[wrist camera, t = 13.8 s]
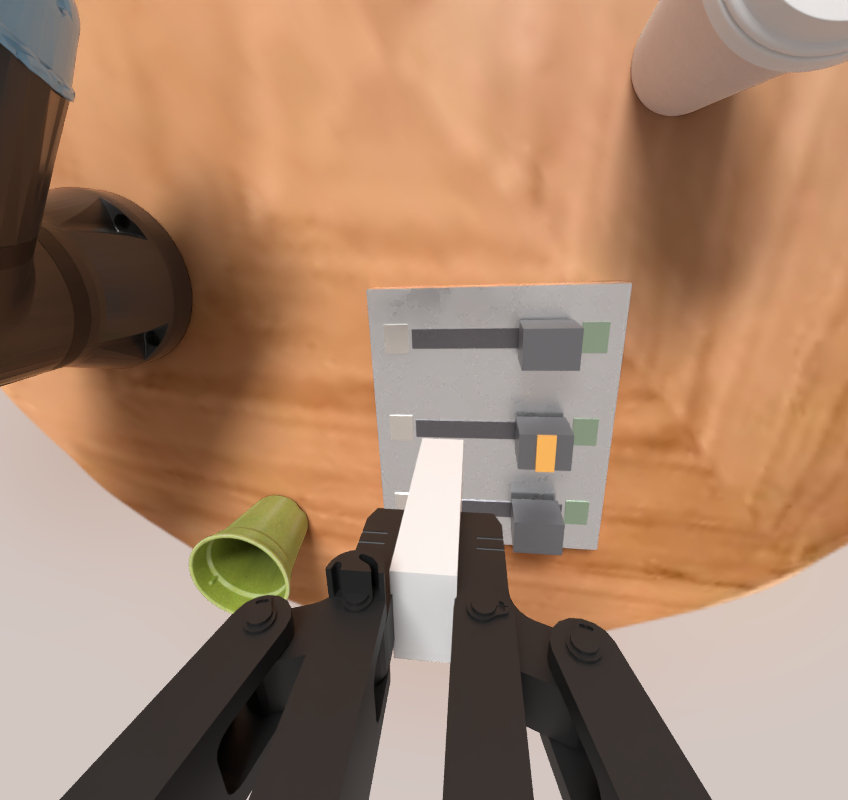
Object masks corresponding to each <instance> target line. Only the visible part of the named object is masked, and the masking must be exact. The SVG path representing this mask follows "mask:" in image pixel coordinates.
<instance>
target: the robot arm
mask: <svg viewBox="0 0 848 800" xmlns="http://www.w3.org/2000/svg"><path fill="white" fill-rule="evenodd" d="M79 35H80V18H79V13H78V10H77V7H76V4H75V1H74V0H0V387H1V386H4V385H7V384H10V383H13V382H16V381H20V380H23V379H26V378H29V377H32V376H36V375H39V374H42V373H45V372H48V371H51V370H55V369H58V368H62V367H78V368H114V369H120V368H130V367H135V366H139V365H142V364H145V363H148V362H150V361H153V360H156V359H158V358H161V357H163V356H165V355H166V354H168V353H169V352H170V351H171V350H173V349H174V348H175V347H176V346H177V344H178V343H179V342H180V341H181V339H182V337H183V336H184V334H185V332H186V329H187V327H188V324H189V320H190V316H191V308H192V294H191V286H190V281H189V277H188V273H187V270H186V267H185V264H184V262H183V259H182V257H181V255H180V253H179V251H178V249H177V247H176V245H175V244H174V242H173V241H172V239H171V238H170V236H169V235H168V233H167V232H166V231H165V230H164V228H163V227H162V226H161V225H160V224H159V223H158V222H157V221H156V220H155V219H154V218H153V217H152V216H151V215H150V214H149V213H148V212H146V211H145V210H144V209H143V208H141V207H140V206H138V205H137V204H135V203H134V202H132V201H130V200H128V199H126V198H124V197H122V196H120V195H117V194H114V193H111V192H107V191H102V190H95V189H88V188H80V187H62V188H55V189H50V190H49V186H50V181H51V177H52V172H53V167H54V163H55V158H56V154H57V150H58V146H59V142H60V138H61V134H62V130H63V126H64V122H65V118H66V113H67V109H68V105H69V101H71V102H73V101H74V98H75V92H74V90H73V89H72V83H73V75H74V68H75V60H76V53H77V47H78V41H79ZM463 441H464V440H456V439H431V438H422V442H421V446H420V450H419V454H418V458H417V462H416V466H415V470H414V474H413V478H412V482H411V486H410V490H409V494H408V498H407V502H406V506H405V510H401V509H384V508H378V509H377V510H376V511H375V512H373V513H372V514H371V515H370V516H369V517H368V518H367V521H366V523H365V526H364V529H363V533H362V534H361V537H360V540H359V543H358V545H357V548H356V550H353V551H348V552H345V553H343V554H340V555H338V556H337V557H336V558H334V559H333V560H331V562H330V563H329V564H328V566H327V567H326V577H327V585H328V593H329V598H327V599H325V600H323V601H321V602H318V603H314V604H310V605H305V606H300V607H295V608H291V607H290V605H289V603H288V601H287V600H286V599H284V598H282V597H281V596H276V595H265V596H259V597H256V598H254V599H252V600H250V601H248V602H246V603H244V604H243V605H242V606H241V607H239V608H238V609H237V610H236V611H235V612H234V613H233V614H232V615H231V616H230V617H229V618H228V619H227V621H226V622H225V623H224V624H223V625H222V626H221V627H220V628H219V629H218V630H217V631H216V632H215V634H213V636H212V637H211V638H210V639H209V640H208V641H207V642H206V643H205V644H204V645H203V646H202V647H201V648H200V649H199V651H198V652H197V653H196V654H195V655H194V656H193V657H192V658H191V659H190V660H189V661H188V662H187V663H186V665H185V666H184V667H183V668H182V669H181V670H180V671H179V672H178V673H177V674H176V675H175V676H174V677H173V678H172V680H171V681H170V682H169V683H168V684H167V685H166V686H165V687H164V688H163V689H162V690H161V691H160V692H159V694H158V695H157V696H156V697H155V698H154V699H153V700H152V701H151V702H150V703H149V704H148V705H147V707H145V709H144V710H143V711H142V712H141V713H140V714H139V715H138V716H137V717H136V718H135V719H134V720H133V721H132V723H131V724H130V725H129V726H128V727H127V728H126V729H125V730H124V731H123V732H122V733H121V734H120V735H119V737H118V738H117V739H116V740H115V741H114V742H113V743H112V744H111V745H110V746H109V747H108V748H107V749H106V751H104V753H103V754H102V755H101V756H100V757H99V758H98V759H97V760H96V761H95V762H94V763H93V764H92V765H91V767H90V768H89V769H88V770H87V771H86V772H85V773H84V774H83V775H82V776H81V777H80V778H79V779H78V781H77V782H76V783H75V784H74V785H73V786H72V787H71V788H70V789H69V790H68V791H67V792H66V793H65V795H64V796H63V797H62V798H61V799H60V800H246V799H247V797H248V796H249V794H250V793H251V791H252V793H251V795H250V798H249V800H369V795H370V789H371V784H372V778H373V773H374V767H375V762H376V756H377V750H378V746H379V740H380V735H381V729H382V724H383V718H384V713H385V708H386V702H387V696H388V691H389V686H390V661H391V656H392V650H393V651H394V658H400V659H410V660H420V661H431V662H441V663H450V680H449V698H448V715H447V733H446V751H445V770H444V786H443V800H534V797H533V788H532V779H531V769H530V759H529V749H528V740H527V732H526V726H527V727H529V728H531V729H533V730H535V731H537V732H539V733H540V736H541V739H542V742H543V745H544V748H545V750H546V753H547V756H548V759H549V762H550V765H551V768H552V770H553V773H554V776H555V779H556V782H557V785H558V788H559V791H560V793H561V796H562V799H563V800H712V799H711V797H710V796H709V794H708V793H707V791H706V789H705V788H704V786H703V784H702V783H701V781H700V780H699V778H698V776H697V775H696V773H695V771H694V770H693V768H692V767H691V765H690V763H689V762H688V760H687V758H686V757H685V755H684V754H683V752H682V750H681V749H680V747H679V745H678V744H677V742H676V741H675V739H674V737H673V736H672V734H671V732H670V731H669V729H668V727H667V726H666V724H665V723H664V721H663V720H662V718H661V716H660V714H659V713H658V711H657V710H656V708H655V706H654V705H653V703H652V702H651V700H650V698H649V697H648V695H647V693H646V692H645V690H644V688H643V687H642V685H641V683H640V682H639V680H638V679H637V677H636V676H635V674H634V672H633V671H632V669H631V667H630V666H629V664H628V662H627V661H626V659H625V657H624V656H623V654H622V653H621V651H620V649H619V648H618V646H617V644H616V643H615V641H614V640H613V639H612V638H611V637H610V636H609V634H608V633H607V632H606V631H605V630H603V629H602V628H600V627H599V626H597V625H596V624H594V623H592V622H589V621H586V620H583V619H575V618H568V619H565V620H562V621H559V622H558V623H557V624H556V625H555V626H554V627H550V626H547V625H544V624H542V623H539V622H537V621H534V620H532V619H530V618H528V617H527V616H525V615H524V614H523V613H521V612H520V611H519V610H518V609H517V608H516V607H515V605H514V604H513V602H512V600H511V598H510V595H509V590H508V580H507V570H506V560H505V552H504V541H503V530H502V524H501V523H500V522H499V520H498V519H497V517H496V516H495V515H494V514H491V513H473V512H462V479H463ZM252 789H253V790H252Z"/></svg>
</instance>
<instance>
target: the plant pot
mask: <svg viewBox="0 0 848 800" xmlns="http://www.w3.org/2000/svg"><path fill="white" fill-rule="evenodd" d="M307 529H308V520H307V516H306V514H305V512H303V511H302V510H301V509H300V508H299V507H298V506H297V504H296V503H295V502H294V501H293V500H291V499H289V498H286V497H283V496H277V495H272V496H267V497H265V498H263V499H261V500H260V501H258V502H257V503H256V504H255V505H253V506H252V507H251V508H250V509H249V510H248V511H246V512H245V513H244V514H243V515H242V516H240V517H239V518H238V519H237V520H236V521H234V522H233V523H232V524H231V525H230V526H228V527H227V528H226V529H225V530H222V531H220V532H218V533H216V534H215V535H211V536H209V537H207V538H205V539H203V540H202V541H200V542H199V543H198V544H197V545H196V546H195V547H194V549H193V550H192V552H191V555H190V558H189V571H190V575H191V577H192V580H193V582H194V584H195V586H196V587H197V589H198V590H199V591H200V592H201V594H202V595H203V596H204V597H205V598H206V599H207V600H209V601H210V602H211V603H212V604H214V605H215V606H217V607H219V608H220V609H222V610H224V611H226V612H228V613H231V614H233V613H234V612H235V611H236V610H237V609H238V608H239V607H241V606H242V605H243V604H244V603H246V602H248V601H250V600H252V599H254V598H256V597H259V596H265V595H276V596H281V597H282V598H284V599H286V600H287V599H288V597H289V594H290V580H291V572H292V569H293V566H294V563H295V560H296V558H297V555H298V552H299V550H300V547H301V545H302V542H303V540H304V537H305V534H306V532H307Z"/></svg>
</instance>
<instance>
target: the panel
mask: <svg viewBox="0 0 848 800" xmlns="http://www.w3.org/2000/svg"><path fill="white" fill-rule="evenodd" d="M631 289H632V283H630V282H626V281H599V282H559V283H518V284H478V285H437V286H396V287H372V288H369V289H367V303H368V315H369V327H370V340H371V352H372V364H373V377H374V389H375V401H376V414H377V426H378V438H379V451H380V463H381V475H382V488H383V500H384V509H401V510H405V506H406V502H407V498H408V494H409V490H410V486H411V482H412V478H413V474H414V470H415V466H416V462H417V458H418V454H419V450H420V446H421V442H422V438H431V439H456V440H464V441H463V479H462V512H473V513H491V514H494V515H495V516H496V517H497V519H498V520H499V522H500V523H501V524H502V530H503V541H504V544H505V545H512V536H511V505H512V499H533V500H556V501H558V503H559V507H560V510H561V514H562V517H563V521H564V524H565V529H564V539H563V548H573V549H590V550H597V545H598V538H599V530H600V522H601V515H602V507H603V500H604V492H605V485H606V477H607V470H608V462H609V455H610V447H611V439H612V432H613V424H614V417H615V409H616V402H617V394H618V387H619V379H620V372H621V364H622V356H623V349H624V341H625V334H626V326H627V319H628V311H629V304H630V296H631ZM569 319H574V320H575V321H576V322H577V323H578V324H580V325H581V326H582V327H583V328H584V334H583V344H582V355H581V365H580V371H522V370H521V367H520V364H519V360H518V344H519V321H520V320H569ZM516 416H518V417H566V419H567V421H568V423H569V425H570V427H571V429H572V431H573V433H574V446H573V456H572V466H571V471H554V472H535V470H525V469H518V467H517V461H516V454H515V430H516Z"/></svg>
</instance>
